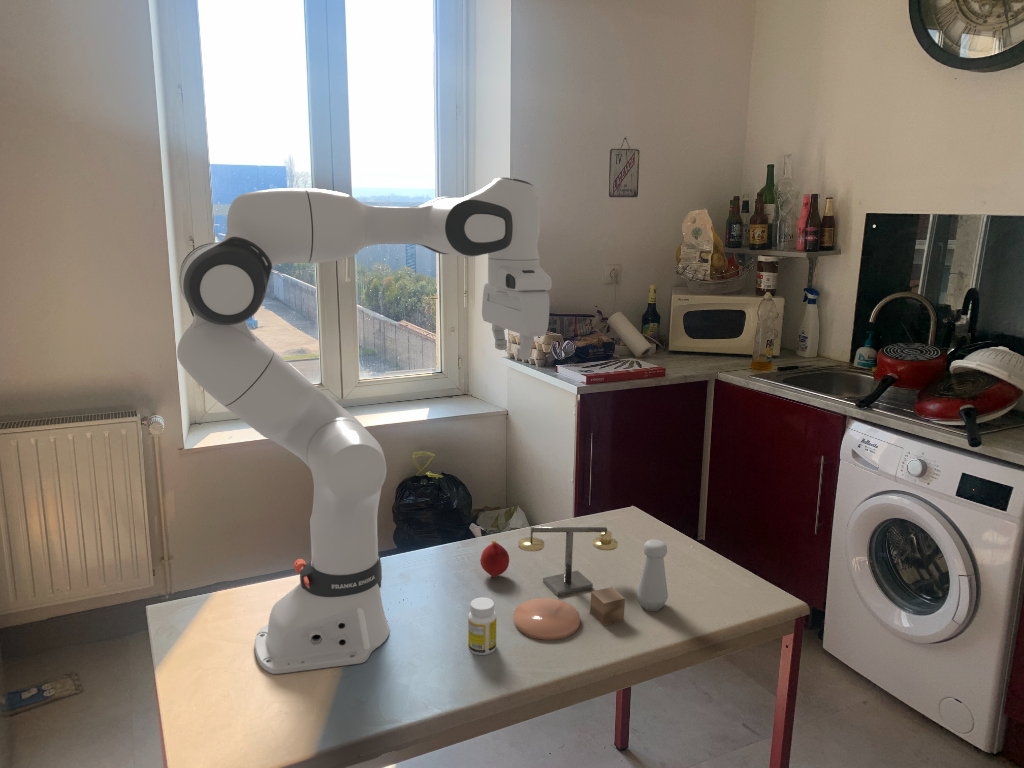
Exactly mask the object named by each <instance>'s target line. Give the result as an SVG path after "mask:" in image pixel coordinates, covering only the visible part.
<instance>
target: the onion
mask: <svg viewBox="0 0 1024 768" xmlns="http://www.w3.org/2000/svg"><path fill="white" fill-rule="evenodd" d="M479 563H480V565H481V567H482V569H483V570H484V572H486V573H487V574H488V575H489V576H490V577H492V578H497V577H498V576H499V577H500V576H501V575H502V574H504V573H505V572H506V571H507V570H508V567H509V566H510V565H509V564H510V555H509V553H508V551H507V550H506V549H505V547H504V546H503V545H501V544H499V543H498V542H497V541H496V540H495V539H493V540H491V544H489V545H488V546H486V547H485V548H484V549H483V551H482V553H481V556H480V562H479Z"/></svg>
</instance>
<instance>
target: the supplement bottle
mask: <svg viewBox="0 0 1024 768" xmlns="http://www.w3.org/2000/svg"><path fill="white" fill-rule="evenodd" d="M469 606H470V608H469V610H470V612H469V613H468V618H467V620H468V621H467V627H468V631H467V632H468V633H467V635H468V636H467V638H468V649H469V650H470V651H469V652H471V653H472V654H474V655H478V656H479V655H480V656H485V655H489V654H491V653H493V652H494V651H495V650H496V649H497V613H496V611H495V603H494V600H493V599H491V598H489V597H482V596H481V597H476V598H473V600H471V602H470V605H469Z"/></svg>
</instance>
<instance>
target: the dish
mask: <svg viewBox="0 0 1024 768" xmlns="http://www.w3.org/2000/svg"><path fill="white" fill-rule="evenodd" d="M580 622H581V621H580V613H579V611H578V610H577V608H576V607H575V606H573V605H572V604H569V603H568V602H566V601H563V600H560V599H556V598H548V597H542V598H541V597H540V598H533V599H529V600H527V601H524V602H522V603H520V604H519V605H517V607H516V608H515V609H514V612H513V624H514V627H515V628H516V629H517V630H518V631H519V632H520V633H522V634H524V635H525V636H527V637H529V638H532V639H533V638H534V639H537V640H538V639H539V640H543V641H546V640H547V641H555V640H562V639H565V638H568V637H570V636H572V635H573V634H575V633H576V632H577V631H578V629H580V624H581V623H580Z"/></svg>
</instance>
